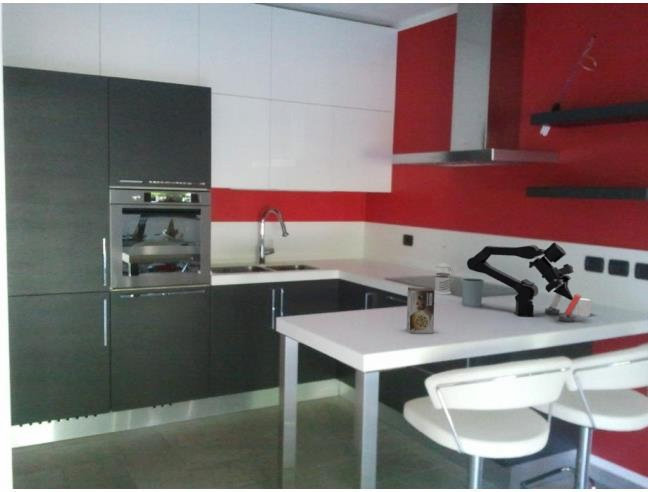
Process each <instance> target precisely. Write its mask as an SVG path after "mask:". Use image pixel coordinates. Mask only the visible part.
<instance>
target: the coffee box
mask: <svg viewBox="0 0 648 492" xmlns="http://www.w3.org/2000/svg"><path fill="white" fill-rule="evenodd" d="M434 290H435V289H433V287H418V286H415V287H413V286H412V287H409V286H408V287H407V300H406V301H407V303H406V304H407V305H406V306H407V307H406V331H407V332H408V334H434V320H435V318H434V317H435V293H434V292H435V291H434Z"/></svg>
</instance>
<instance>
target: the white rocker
mask: <svg viewBox="0 0 648 492" xmlns="http://www.w3.org/2000/svg"><path fill="white" fill-rule="evenodd" d="M562 297H563V296H561V295H559V294H557V293H555V295H554V297H553V299H552V301H551V304H550V306H551V307H553V309H555V308H556V309H558V306H559V303H560V302H561V300H562Z"/></svg>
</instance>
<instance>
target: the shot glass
mask: <svg viewBox="0 0 648 492" xmlns="http://www.w3.org/2000/svg"><path fill="white" fill-rule="evenodd" d="M592 303H593V299H590V298H586V297H581V298H580V300H579V302H578V303H577V305H576V307H575V309H574V310H575V316H580V317H590V316H591V309H592Z"/></svg>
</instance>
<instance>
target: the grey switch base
mask: <svg viewBox="0 0 648 492" xmlns="http://www.w3.org/2000/svg"><path fill="white" fill-rule="evenodd" d="M544 314H546V315H547V316H559V315H561V311H560V309H559V308H555V309H553V307H551V305H549V306H548V307H545V308H544Z"/></svg>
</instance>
